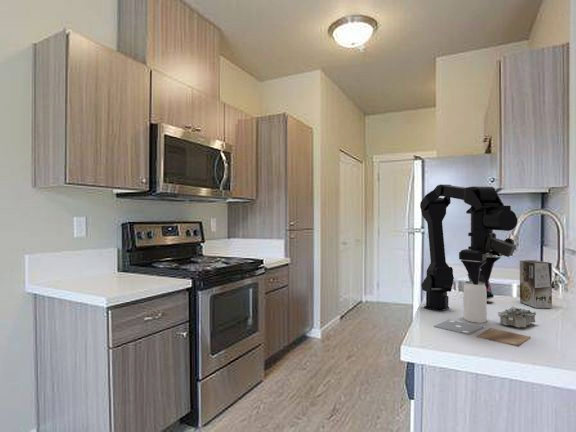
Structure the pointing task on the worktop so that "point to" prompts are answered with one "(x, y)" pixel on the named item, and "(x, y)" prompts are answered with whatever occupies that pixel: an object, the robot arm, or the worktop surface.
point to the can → (475, 302)
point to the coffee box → (536, 283)
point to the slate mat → (458, 327)
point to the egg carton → (517, 317)
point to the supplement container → (487, 284)
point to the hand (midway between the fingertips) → (481, 282)
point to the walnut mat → (504, 337)
